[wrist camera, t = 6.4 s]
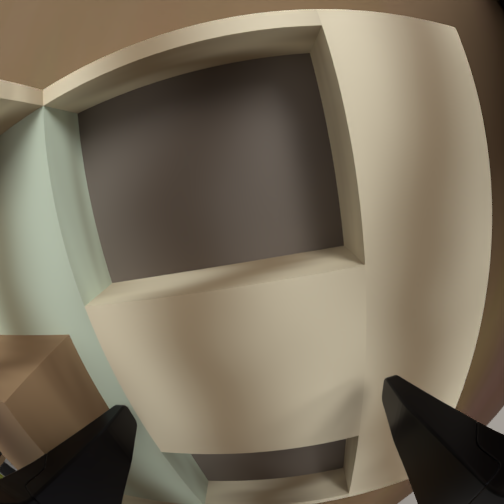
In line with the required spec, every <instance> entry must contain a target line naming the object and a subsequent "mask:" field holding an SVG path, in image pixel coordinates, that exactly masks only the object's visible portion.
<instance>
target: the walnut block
mask: <svg viewBox="0 0 504 504" xmlns="http://www.w3.org/2000/svg"><path fill="white" fill-rule="evenodd" d="M107 410H109V407H108V406H107V404H106V403H105V401H104V399H103V398H102V396H101V394H100V393H99V391H98V389H97V387H96V386H95V384H94V382H93V380H92V379H91V377H90V375H89V373H88V371H87V370H86V368H85V366H84V364H83V362H82V360H81V358H80V356H79V354H78V352H77V350H76V348H75V346H74V344H73V342H72V339H71V337H70V335H69V334H67V335H0V452H1V453H2V454H3V455H4V456H5V457H6V459H7V460H8V461H9V462H10V463H11V464H12V465H13V466H14V467H15V468H16V469H17V470H19V469H21V468H23V467H25V466H26V465H28V464H30V463H32V462H33V461H35V460H37V459H38V458H40V457H41V456H43V455H44V454H46V453H47V452H49V451H50V450H52V449H53V448H55V447H56V446H58V445H59V444H61V443H62V442H64V441H65V440H66V439H68V438H69V437H71V436H72V435H74V434H75V433H77V432H78V431H79V430H81V429H82V428H84V427H85V426H86V425H88V424H89V423H91V422H92V421H94V420H95V419H96V418H98V417H99V416H101V415H102V414H103V413H105V412H106V411H107Z"/></svg>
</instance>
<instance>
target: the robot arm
mask: <svg viewBox="0 0 504 504" xmlns="http://www.w3.org/2000/svg"><path fill="white" fill-rule="evenodd" d="M500 2H501V4H502V6H503V8H504V0H500ZM382 403H383V406H384V409H385V413H386V416H387V420H388V424H389V427H390V431H391V434H392V438H393V441H394V444H395V446H396V449H397V451H398V454H399V456H400V458H401V461H402V463H403V466H404V468H405V471H406V473H407V476H408V479H409V481H410V484H411V486H412V489H413V492H414V494H415V497H416V500H417V502H418V504H504V435H503V434H501V433H498V432H496V431H494V430H492V429H491V428H488V427H487V426H485V425H483V424H481V423H479V422H477V421H476V420H474V419H472V418H470V417H469V416H467V415H465V414H463V413H461V412H460V411H458V410H456V409H454V408H453V407H451V406H449V405H447V404H446V403H444V402H442V401H441V400H439V399H437V398H435V397H434V396H432V395H430V394H429V393H427V392H425V391H423V390H422V389H420V388H418V387H417V386H415V385H413V384H412V383H410V382H408V381H407V380H405V379H403V378H402V377H400V376H398V375H393V376H390V377H386V378H385V379H384V382H383V390H382ZM136 431H137V422H136V419H135V418H134V416H133V415H132V413H131V411H130V410H129V408H128V407H127V406H126V405H114V406H113V407H112V408H110V409H109V410H107V411H106V412H105V413H103V414H102V415H101V416H99V417H98V418H96V419H95V420H94V421H92V422H91V423H89V424H88V425H86V426H85V427H84V428H82V429H81V430H79V431H78V432H77V433H75V434H74V435H72V436H71V437H69V438H68V439H66V440H65V441H64V442H62V443H61V444H59V445H58V446H56V447H55V448H53V449H52V450H50V451H49V452H47V453H46V454H44V455H43V456H41V457H40V458H38V459H37V460H35V461H33V462H32V463H30V464H28V465H26V466H25V467H23V468H21V469H19V470H17V471H15V472H13V473H11V474H9V475H7V476H5V477H3V478H0V504H122V499H123V495H124V491H125V487H126V483H127V479H128V475H129V471H130V467H131V463H132V457H133V451H134V444H135V437H136Z"/></svg>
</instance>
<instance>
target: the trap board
mask: <svg viewBox="0 0 504 504" xmlns="http://www.w3.org/2000/svg"><path fill="white" fill-rule="evenodd" d="M491 238H492V192H491V176H490V165H489V155H488V147H487V140H486V134H485V128H484V122H483V117H482V112H481V108H480V103H479V99H478V95H477V91H476V87H475V83H474V80H473V76H472V73H471V69H470V66H469V63H468V60H467V57H466V54H465V51H464V49H463V46H462V43H461V40H460V38H459V35H458V33H457V30H456V28H455V27H452V26H448V25H444V24H440V23H436V22H432V21H428V20H423V19H418V18H413V17H408V16H402V15H395V14H388V13H380V12H371V11H359V10H341V9H304V10H286V11H274V12H264V13H256V14H249V15H242V16H236V17H230V18H225V19H220V20H215V21H210V22H206V23H201V24H197V25H193V26H189V27H186V28H182V29H178V30H175V31H172V32H168V33H165V34H162V35H159V36H156V37H153V38H150V39H147V40H144V41H142V42H139V43H136V44H134V45H131V46H128V47H126V48H123V49H121V50H119V51H116V52H114V53H112V54H109V55H107V56H105V57H103V58H101V59H98V60H96V61H94V62H92V63H90V64H88V65H86V66H84V67H82V68H80V69H78V70H76V71H75V72H73V73H71V74H69V75H67V76H65V77H64V78H62V79H60V80H58V81H57V82H55V83H53V84H52V85H50V86H49V87H47V88H45V89H44V90H41V89H37V88H33V87H30V86H26V85H22V84H17V83H13V82H9V81H4V80H0V335H67V334H69V335H70V337H71V339H72V342H73V344H74V346H75V348H76V350H77V352H78V354H79V356H80V358H81V360H82V362H83V364H84V366H85V368H86V370H87V371H88V373H89V375H90V377H91V379H92V380H93V382H94V384H95V386H96V387H97V389H98V391H99V393H100V394H101V396H102V398H103V399H104V401H105V403H106V404H107V406H108V407H109V409H110V408H112V407H113V406H114V405H126V406H127V407H128V408H129V410H130V411H131V413H132V415H133V416H134V418H135V419H136V422H137V431H136V437H135V444H134V451H133V457H132V463H131V467H130V471H129V475H128V479H127V483H126V487H125V491H124V495H123V499H122V504H315V503H321V502H326V501H332V500H337V499H341V498H346V497H350V496H354V495H358V494H362V493H366V492H369V491H373V490H376V489H380V488H383V487H386V486H389V485H392V484H395V483H398V482H401V481H404V480H406V479H408V476H407V473H406V471H405V468H404V466H403V463H402V461H401V458H400V456H399V454H398V451H397V449H396V446H395V444H394V441H393V438H392V434H391V431H390V427H389V424H388V420H387V416H386V413H385V409H384V406H383V403H382V390H383V382H384V379H385V378H386V377H390V376H393V375H398V376H400V377H402V378H403V379H405V380H407V381H408V382H410V383H412V384H413V385H415V386H417V387H418V388H420V389H422V390H423V391H425V392H427V393H429V394H430V395H432V396H434V397H435V398H437V399H439V400H441V401H442V402H444V403H446V404H447V405H449V406H451V407H453V408H454V409H455V408H456V405H457V402H458V400H459V397H460V394H461V392H462V389H463V386H464V383H465V380H466V377H467V374H468V371H469V367H470V364H471V361H472V357H473V354H474V350H475V346H476V342H477V338H478V334H479V329H480V325H481V320H482V315H483V310H484V304H485V298H486V291H487V284H488V276H489V267H490V255H491Z"/></svg>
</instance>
